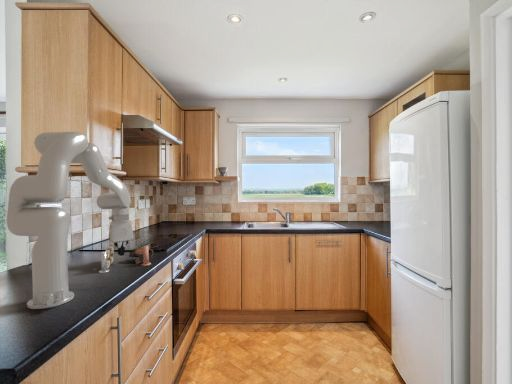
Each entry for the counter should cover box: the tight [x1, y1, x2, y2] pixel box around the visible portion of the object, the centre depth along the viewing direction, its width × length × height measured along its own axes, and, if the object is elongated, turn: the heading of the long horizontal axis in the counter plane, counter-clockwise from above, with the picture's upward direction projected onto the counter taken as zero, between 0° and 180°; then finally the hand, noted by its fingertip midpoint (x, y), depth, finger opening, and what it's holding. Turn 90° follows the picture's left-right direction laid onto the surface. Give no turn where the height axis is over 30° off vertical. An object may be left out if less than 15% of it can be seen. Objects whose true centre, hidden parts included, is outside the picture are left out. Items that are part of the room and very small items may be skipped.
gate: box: [105, 245, 115, 269], centre depth 133 cm, size 18×2×8 cm, turn 18°
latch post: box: [140, 245, 152, 267], centre depth 134 cm, size 4×4×9 cm
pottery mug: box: [128, 246, 155, 265], centre depth 141 cm, size 12×10×8 cm
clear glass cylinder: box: [98, 250, 111, 274], centre depth 123 cm, size 4×4×9 cm
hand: (121, 255), depth 135 cm, fingers closed
